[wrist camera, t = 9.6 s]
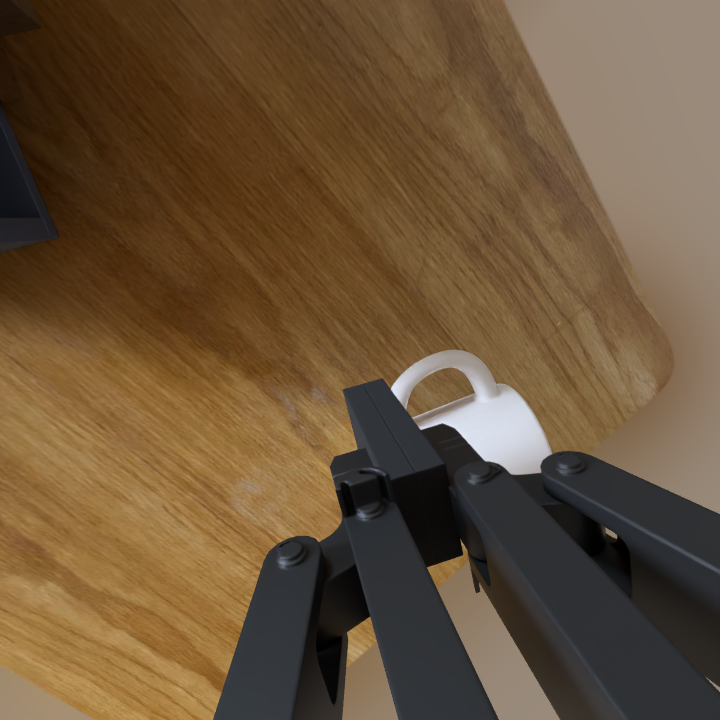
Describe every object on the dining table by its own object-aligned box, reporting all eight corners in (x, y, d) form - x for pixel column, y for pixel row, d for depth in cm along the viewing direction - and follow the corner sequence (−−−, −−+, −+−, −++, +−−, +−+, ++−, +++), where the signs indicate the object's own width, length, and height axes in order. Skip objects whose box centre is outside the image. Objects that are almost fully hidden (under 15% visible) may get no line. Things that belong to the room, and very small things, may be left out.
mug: (509, 457, 39) (568, 514, 32) (392, 505, 38) (424, 575, 31) (473, 318, 35) (530, 345, 28) (342, 367, 35) (365, 409, 27)
